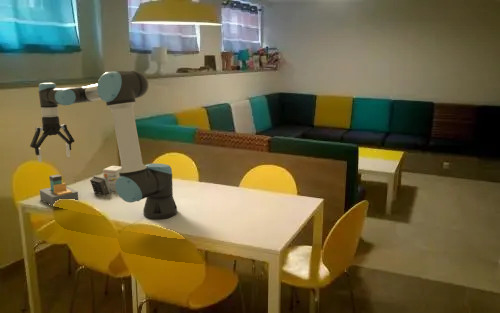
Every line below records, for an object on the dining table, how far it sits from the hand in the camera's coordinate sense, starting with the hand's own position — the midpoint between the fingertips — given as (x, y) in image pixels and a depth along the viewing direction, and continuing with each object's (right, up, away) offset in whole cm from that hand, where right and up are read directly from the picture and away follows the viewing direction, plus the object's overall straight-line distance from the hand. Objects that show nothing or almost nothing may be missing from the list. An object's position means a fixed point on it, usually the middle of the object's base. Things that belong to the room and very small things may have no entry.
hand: (54, 159), depth 210 cm
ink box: (+23, -16, +23) cm, 36 cm away
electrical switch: (+18, -18, +15) cm, 29 cm away
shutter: (+4, -16, -1) cm, 17 cm away
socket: (+1, -20, +3) cm, 21 cm away
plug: (-1, -20, +5) cm, 21 cm away
